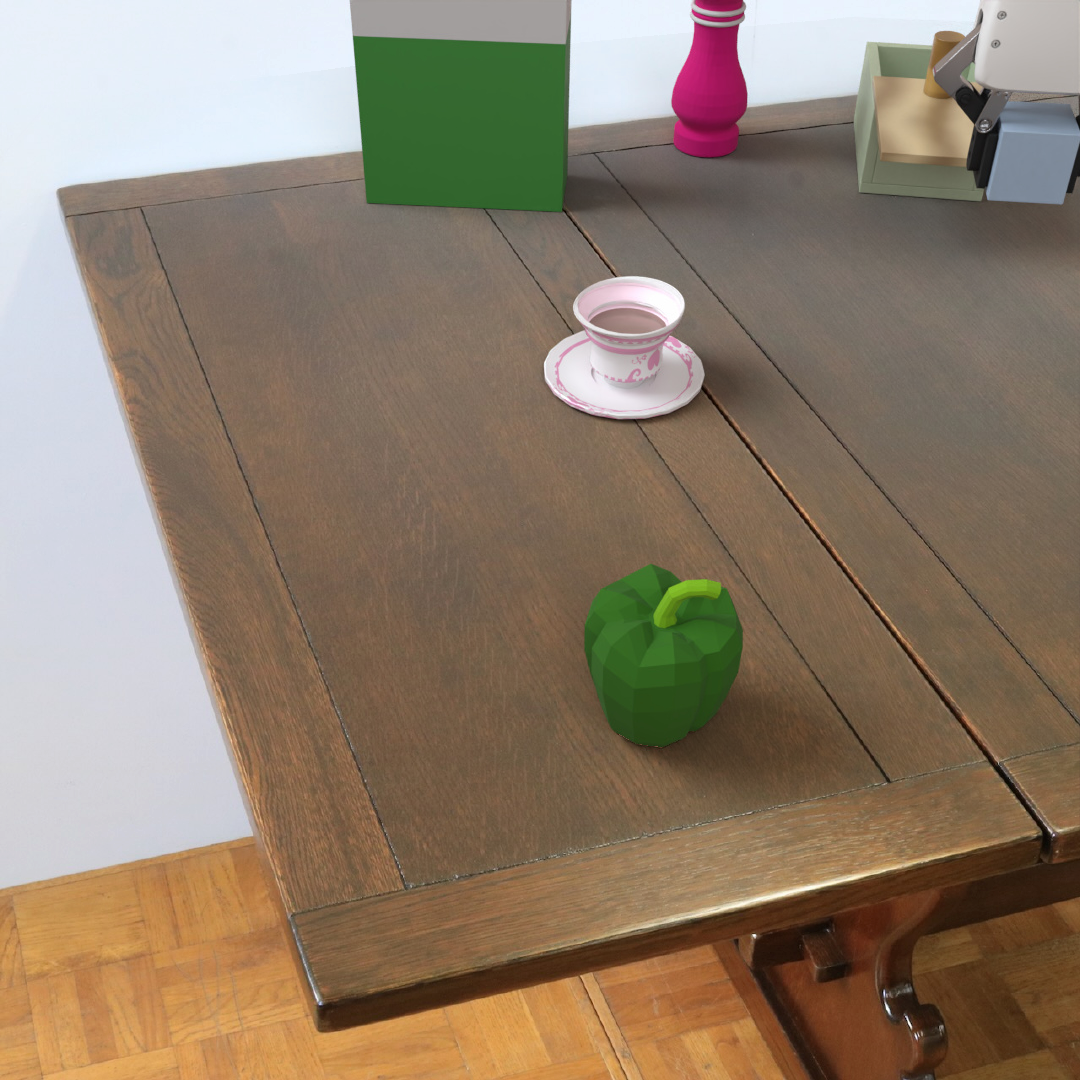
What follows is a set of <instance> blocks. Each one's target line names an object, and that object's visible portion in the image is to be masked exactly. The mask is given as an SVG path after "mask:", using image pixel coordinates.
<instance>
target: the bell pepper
mask: <svg viewBox="0 0 1080 1080" xmlns="http://www.w3.org/2000/svg"><path fill="white" fill-rule="evenodd" d="M583 631H584V633H583V634H584V635H583V637H584V638H583V639H584V640H583V644H584V648H583V651H584V655H585V658H586V661H587V665H588V669H589V674H590V676H591V679H592V682H593V685H594V688H595V691H596V696H597V698H598V701H599V703H600V706H601V709H602V711H603V714H604V716H605V718H606V721H607V723H608V725H609V727H610V729H611V730H612V731H613V732H614V733H615V732H616V733H618V734H620V735H622V736H624V737H625V738H627V739H629V740H630V741H632V742H634V743H636V744H642V745H648V746H658V747H664V746H666V747H668V746H670V745H672V744H671V743H673V742H675V743H677V742H679V741H681V740H683V739H684V738H686V737H687V735H688V733H690V732H689V731H694V732H696V731H698V730H700V729H702V728H703V727H704V726H705V725H706V724H707V723H709V721H710V720H711V719H712V718H714V717H715V716H716V715H717V713H718V712H719V711H720V709H721V706H722V705H723V704H724V701H726V699H727V696H728V694H729V693H730V690H731V688H732V686H733V684H734V682H735V680H736V678H737V676H738V675H739V670H740V664H741V659H742V653H743V647H744V644H743V643H744V628H743V626H742V623H741V620H740V617H739V614H738V612H737V609H736V607H735V604H734V601H733V599H732V597H731V595H730V592H729V591H728V588H726V587H723V586H722V583H721V582H719V581H714V580H711V579H706V578H703V579H686V580H683V581H682V580H680V579H679V577H678V576H676V575H675V574H674V573H673V572H672V571H670V570H668V569H665V568H663V567H661V566H658V565H655V564H653V563H649V564H647V565H645V566H643V567H640V568H639V569H637V570H636V571H633V572H632V573H630V574H628V575H626V576H624V577H622V578H620V579H617V580H616V581H614V582H611V583H610V584H608V585H606V586H604V587H602V588H601V589H600V590H599V591H598V592H597V594H596V595H595V597H594V598H593V599H592V601H591V604H590V606H589V610H588V613H587V617H586V620H585V623H584V630H583ZM616 733H615V734H616ZM625 738H624V739H625ZM627 739H626V740H627ZM629 740H628V741H629ZM678 740H679V741H678ZM630 741H629V742H630ZM676 741H677V742H676ZM632 742H631V743H632ZM634 743H633V744H634ZM636 744H635V745H636ZM669 744H670V745H669ZM673 744H674V743H673ZM667 745H668V746H667ZM648 746H647V747H648ZM664 748H665V747H664Z"/></svg>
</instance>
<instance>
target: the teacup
mask: <svg viewBox="0 0 1080 1080" xmlns="http://www.w3.org/2000/svg"><path fill="white" fill-rule="evenodd" d="M572 305H573V306H572V310H573V314H574V316H575V318H576V319H577V320H578V321H579V323H580V324H581V327H583V330H581V331H579V332H576V333H574V334H572V335H569V336H567V337H565V338H563V339H562V340H561V341H559V342H558V343H557V344H556V345H554V346H553V347H552V348H551V349H550V350H549V352H548V353H547V356H546V358H545V360H544V362H543V373H544V381H545V383H546V384H547V386H548V387H549V389H550V390H551V392H552V393H553V395H554V396H556V397H557V398H558V399H559V400H561V401H563V402H564V403H565V404H566V405H568V406H570V407H571V408H573V409H576V410H579V411H582V412H584V413H587V414H590V415H592V416H596V417H603V418H608V419H615V420H643V419H644V420H645V419H649V418H653V417H659V416H662V415H663V416H664V415H667V414H671V413H673V412H674V411H677V410H679V409H680V408H682V407H685V406H687V405H688V404H689V403H690V402H691V401H692V400H693V399H694V398H696V396H697V395H698V394H699V393H700V392H701V390H702V386H703V384H704V380H705V377H706V374H705V369H704V366H703V361H702V359H701V358H700V357H699V356H698V354H696V352H695V351H694V350H693V349H692V347H690V346H689V345H688V344H686V343H684V342H682V341H681V340H679V338H676V337H674V336H673V335H671V334H672V333H673V332H674V330H676V328H678V326H679V325H680V323H681V322H682V319H683V315H684V313H685V310H686V302H685V299H684V297H683V295H682V294H681V292H680V291H679V290H678V289H677V288H675V287H674V286H673V285H671V284H670V283H667V282H665V281H663V280H660V279H656V278H653V277H647V276H637V275H626V276H617V277H616V276H615V277H612V278H607V279H604V280H600V281H597V282H595V283H592V284H591V285H589V286H587V287H585V288H584V289H583V290H582V291H581V292H580V293H579V294H578V295H577V296H576V297H575V300H574V302H573V304H572Z"/></svg>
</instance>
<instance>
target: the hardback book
mask: <svg viewBox="0 0 1080 1080" xmlns="http://www.w3.org/2000/svg"><path fill="white" fill-rule="evenodd" d="M349 6H350V7H349V9H350V18H351V19H350V21H351V22H350V23H351V32H352V33H351V34H352V45H353V56H354V65H355V66H354V68H355V69H354V70H355V78H356V79H355V80H356V81H355V82H356V92H357V93H356V94H357V104H358V116H359V128H360V138H361V141H360V142H361V151H362V152H361V153H362V163H363V164H362V165H363V176H364V177H363V178H364V187H365V189H364V190H365V197H366V198H365V199H366V204H380V205H381V204H385V205H404V206H405V205H406V206H425V207H426V206H427V207H448V208H449V207H450V208H466V209H467V208H468V209H469V208H470V209H489V210H490V209H491V210H492V209H493V210H511V211H513V210H514V211H534V212H556V213H557V212H558V213H562V212H563V207H564V202H565V201H564V200H565V193H566V187H567V179H568V167H569V165H568V163H569V162H568V161H569V160H568V159H569V121H570V120H569V119H570V84H571V83H570V80H571V79H570V78H571V77H570V76H571V43H572V42H571V41H572V40H571V37H572V0H349Z"/></svg>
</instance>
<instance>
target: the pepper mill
mask: <svg viewBox="0 0 1080 1080" xmlns="http://www.w3.org/2000/svg"><path fill="white" fill-rule="evenodd" d="M690 8H691V11H690V12H689V17H690V19H691V21H693V35H692V36H693V37H692V44H691V46H690V49H689V53H688V55H687V56H686V57H687V58H686V59H685V62H684V64H683V66H682V68H681V69H680V71H679V73H678V75H677V77H676V80H675V82H674V85H673V89H672V93H671V103H670V104H671V108H672V111H673V113H674V114H675V115H676V117H677V118H678V120H677V121H676V122H675V124H674V126H673V127H674V129H673V140H672V141H673V145H674V147H675V148H676V149H677V150H678V151H680V152H681V153H684V154H686V155H688V156H692V157H693V156H694V157H696V158H697V157H698V158H719V157H725V156H727V155H730V154H731V153H733V152H734V151H735V150H736V149H737V147H738V145H739V135H740V134H739V133H740V127H739V126H738V124H737V123H738V122H739V121H740V120H741V119H742V117H743V116H744V115H745V113H746V111H747V108H748V98H749V97H748V96H749V95H748V88H747V81H746V79H745V76H744V72H743V70H742V67H741V63H740V60H739V50H738V37H739V29H740V25H741V24H742V23H743V22H744V21H745V20H746V15H745V11H746V10H747V4H746V2H745V1H744V0H691V2H690Z"/></svg>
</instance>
